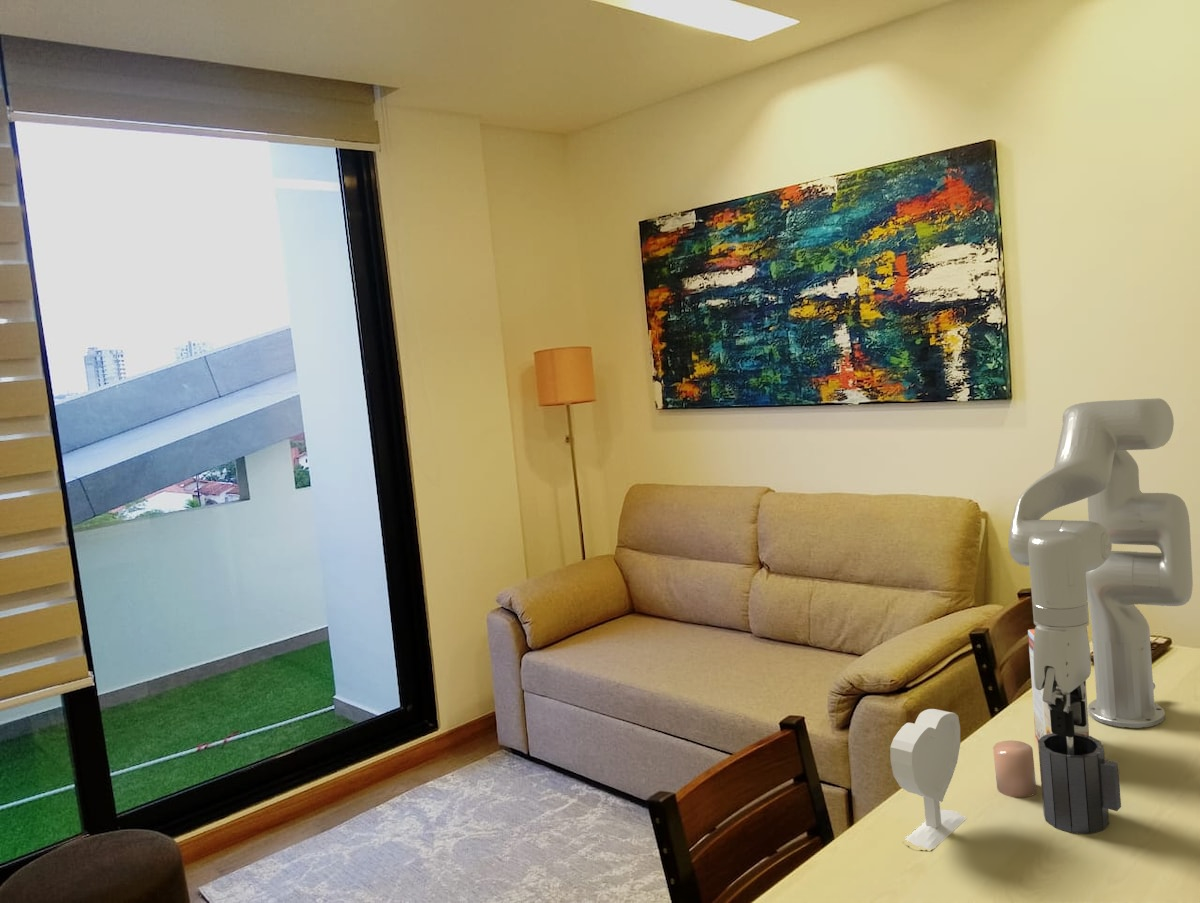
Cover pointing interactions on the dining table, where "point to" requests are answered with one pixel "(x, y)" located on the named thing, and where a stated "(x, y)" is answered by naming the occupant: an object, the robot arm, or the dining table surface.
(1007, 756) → the pink rounded cylinder
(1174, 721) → the dining table surface
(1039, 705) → the cracker box
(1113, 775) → the grey paneled mug
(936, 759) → the heart sculpture
